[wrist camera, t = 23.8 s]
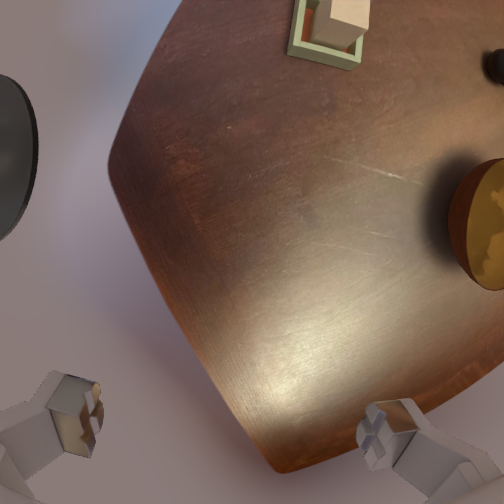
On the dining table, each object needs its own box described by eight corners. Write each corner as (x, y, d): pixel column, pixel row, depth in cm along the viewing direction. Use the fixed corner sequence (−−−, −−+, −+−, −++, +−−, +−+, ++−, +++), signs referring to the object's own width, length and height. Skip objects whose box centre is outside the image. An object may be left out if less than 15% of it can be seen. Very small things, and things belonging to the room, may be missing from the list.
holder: (286, 55, 33) (292, 45, 30) (300, -34, 29) (306, -48, 26) (349, 71, 34) (360, 63, 31) (356, -18, 30) (366, -30, 27)
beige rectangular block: (307, 46, 32) (330, 17, 23) (311, 14, 31) (334, -19, 22) (338, 54, 33) (368, 29, 24) (342, 22, 31) (370, -7, 23)
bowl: (443, 289, 44) (482, 316, 34) (403, 192, 39) (448, 203, 29) (508, 228, 42) (548, 243, 33) (477, 135, 37) (523, 136, 28)
